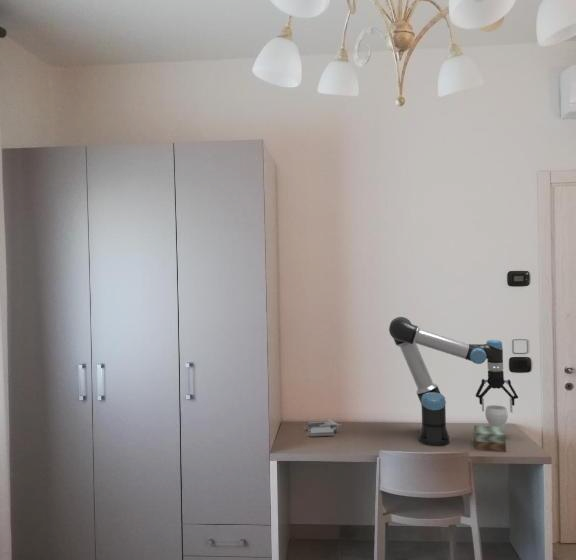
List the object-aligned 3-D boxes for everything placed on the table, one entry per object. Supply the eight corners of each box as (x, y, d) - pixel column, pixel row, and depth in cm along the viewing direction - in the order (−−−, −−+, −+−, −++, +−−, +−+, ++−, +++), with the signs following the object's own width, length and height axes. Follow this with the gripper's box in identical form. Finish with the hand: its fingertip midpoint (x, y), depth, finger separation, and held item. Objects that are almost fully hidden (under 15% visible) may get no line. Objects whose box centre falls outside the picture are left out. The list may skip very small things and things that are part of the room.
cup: (506, 434, 265) (505, 405, 265) (509, 440, 255) (508, 410, 255) (484, 432, 268) (484, 404, 268) (487, 439, 258) (486, 409, 258)
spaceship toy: (303, 430, 280) (303, 419, 280) (339, 429, 281) (338, 417, 281) (306, 438, 266) (306, 426, 266) (343, 436, 267) (343, 424, 267)
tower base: (476, 449, 242) (476, 433, 242) (474, 441, 254) (474, 425, 254) (505, 451, 238) (505, 434, 238) (502, 443, 251) (502, 426, 251)
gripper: (470, 371, 261) (471, 412, 261) (522, 371, 254) (524, 414, 254) (469, 368, 268) (471, 408, 268) (520, 369, 261) (522, 410, 261)
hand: (497, 411), depth 261 cm, fingers open, 13 cm apart
